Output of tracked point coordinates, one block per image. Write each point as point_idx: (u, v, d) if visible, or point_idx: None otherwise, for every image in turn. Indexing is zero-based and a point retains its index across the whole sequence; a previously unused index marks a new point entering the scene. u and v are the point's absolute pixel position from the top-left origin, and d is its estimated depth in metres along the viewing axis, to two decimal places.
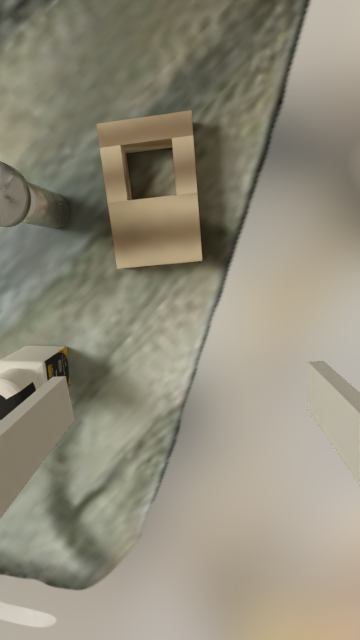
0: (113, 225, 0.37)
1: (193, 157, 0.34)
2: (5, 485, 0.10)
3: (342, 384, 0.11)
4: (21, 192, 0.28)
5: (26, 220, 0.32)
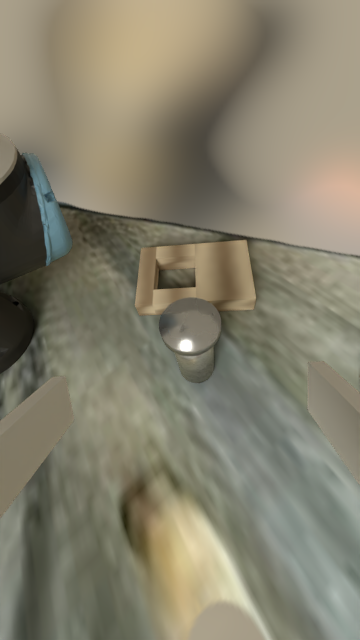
0: (215, 298, 0.40)
1: (170, 246, 0.47)
2: (5, 485, 0.10)
3: (342, 384, 0.11)
4: (191, 299, 0.30)
5: None
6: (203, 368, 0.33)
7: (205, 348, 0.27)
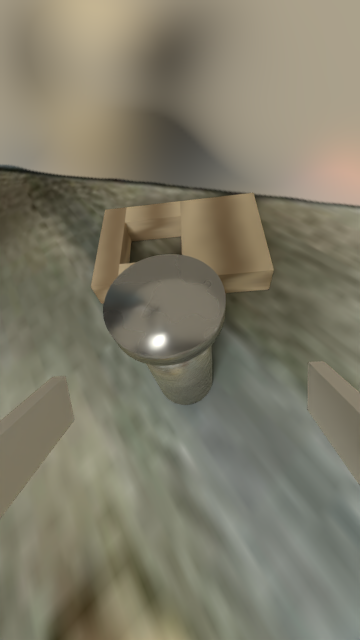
0: None
1: (146, 206, 0.33)
2: (5, 485, 0.10)
3: (342, 384, 0.11)
4: (167, 256, 0.16)
5: None
6: (194, 384, 0.19)
7: (195, 349, 0.13)
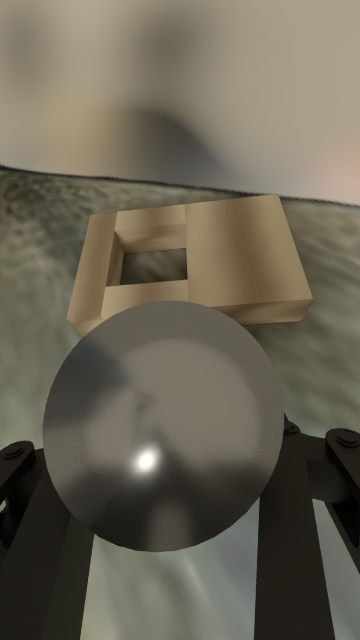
0: (228, 301, 0.20)
1: (142, 210, 0.26)
2: None
3: None
4: (167, 306, 0.09)
5: None
6: None
7: (226, 526, 0.06)
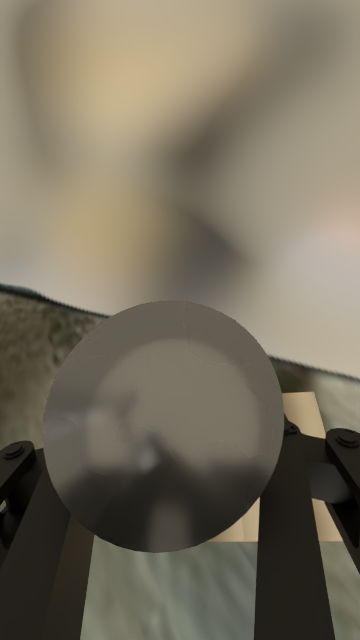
0: None
1: None
2: None
3: None
4: (167, 306, 0.09)
5: None
6: None
7: (226, 526, 0.06)
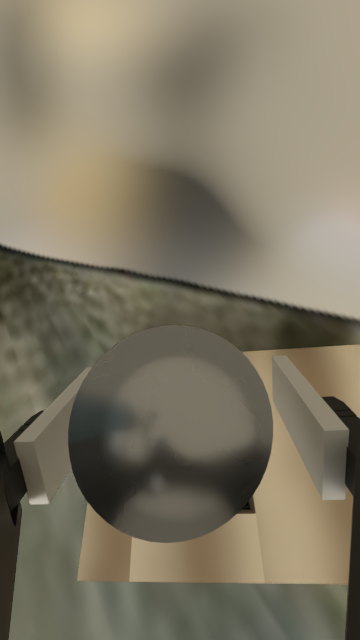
0: (326, 573, 0.13)
1: None
2: (59, 462, 0.11)
3: (295, 375, 0.13)
4: (173, 330, 0.10)
5: None
6: None
7: (224, 522, 0.07)
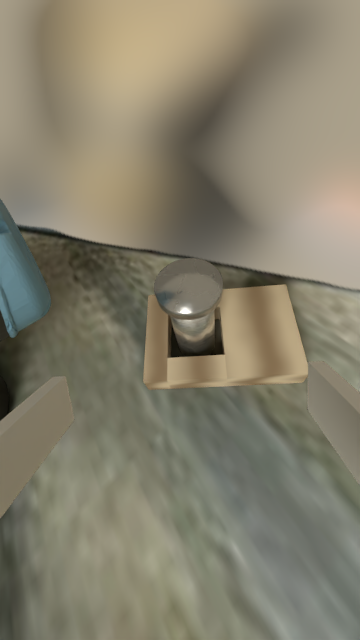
0: (254, 373, 0.30)
1: None
2: (5, 485, 0.10)
3: (342, 384, 0.11)
4: (189, 260, 0.27)
5: None
6: (203, 340, 0.30)
7: (206, 310, 0.24)
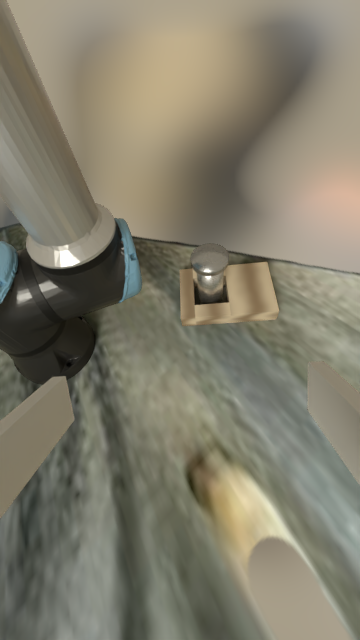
0: (246, 311, 0.50)
1: None
2: (5, 485, 0.10)
3: (342, 384, 0.11)
4: (209, 244, 0.47)
5: None
6: (216, 293, 0.51)
7: (220, 270, 0.45)
